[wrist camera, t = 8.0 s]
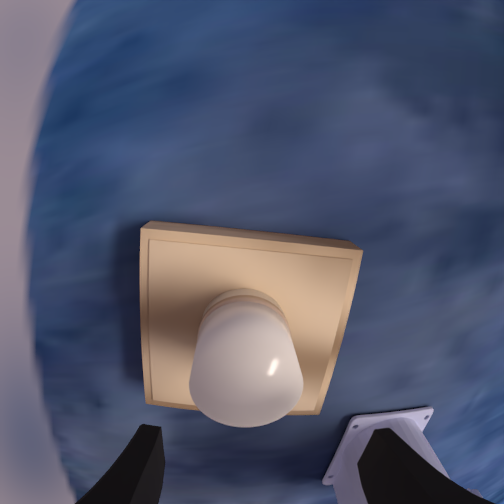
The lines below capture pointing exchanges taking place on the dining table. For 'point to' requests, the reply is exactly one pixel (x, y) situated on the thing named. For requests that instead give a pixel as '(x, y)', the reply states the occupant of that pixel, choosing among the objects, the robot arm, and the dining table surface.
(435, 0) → the dining table surface
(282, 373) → the pot
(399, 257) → the dining table surface
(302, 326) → the base board
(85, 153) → the dining table surface
